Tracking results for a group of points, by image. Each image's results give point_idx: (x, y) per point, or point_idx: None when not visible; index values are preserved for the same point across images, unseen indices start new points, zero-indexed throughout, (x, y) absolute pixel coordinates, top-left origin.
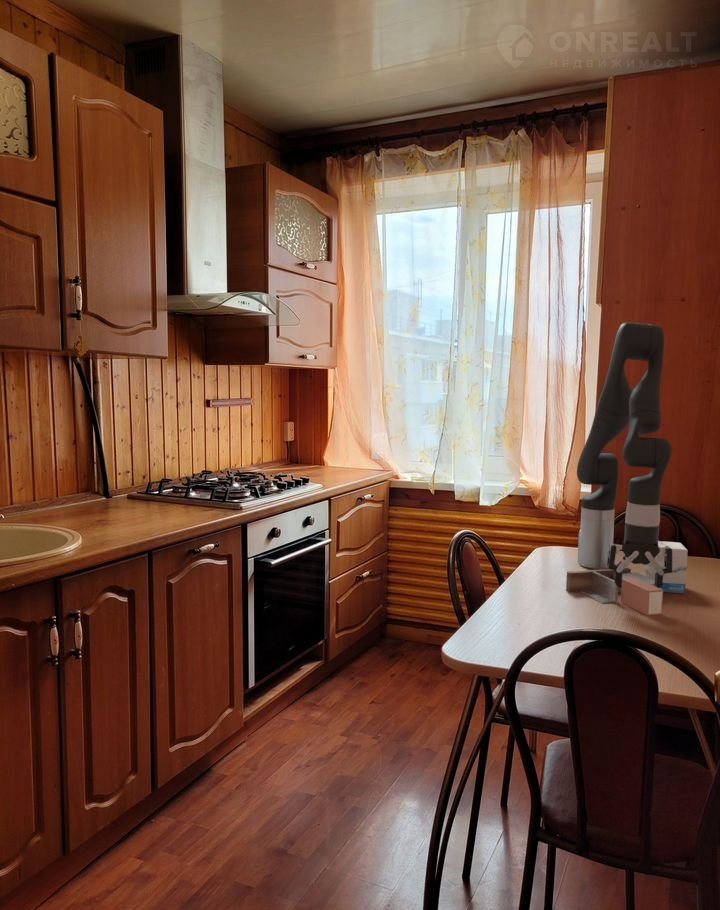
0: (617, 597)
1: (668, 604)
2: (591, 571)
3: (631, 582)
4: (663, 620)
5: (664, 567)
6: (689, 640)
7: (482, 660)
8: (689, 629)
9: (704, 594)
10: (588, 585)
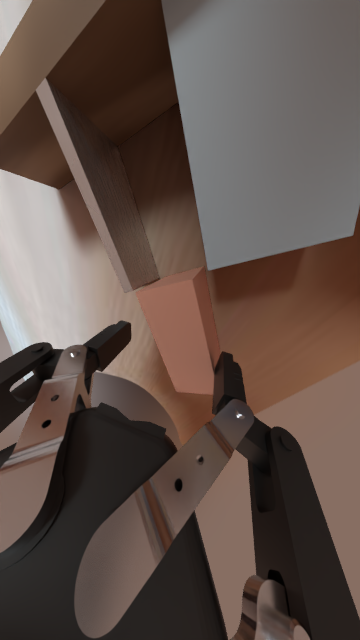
0: (153, 279)
1: (285, 297)
2: (31, 82)
3: (157, 330)
4: None
5: (255, 454)
6: (200, 419)
7: None
8: None
9: None
10: None
